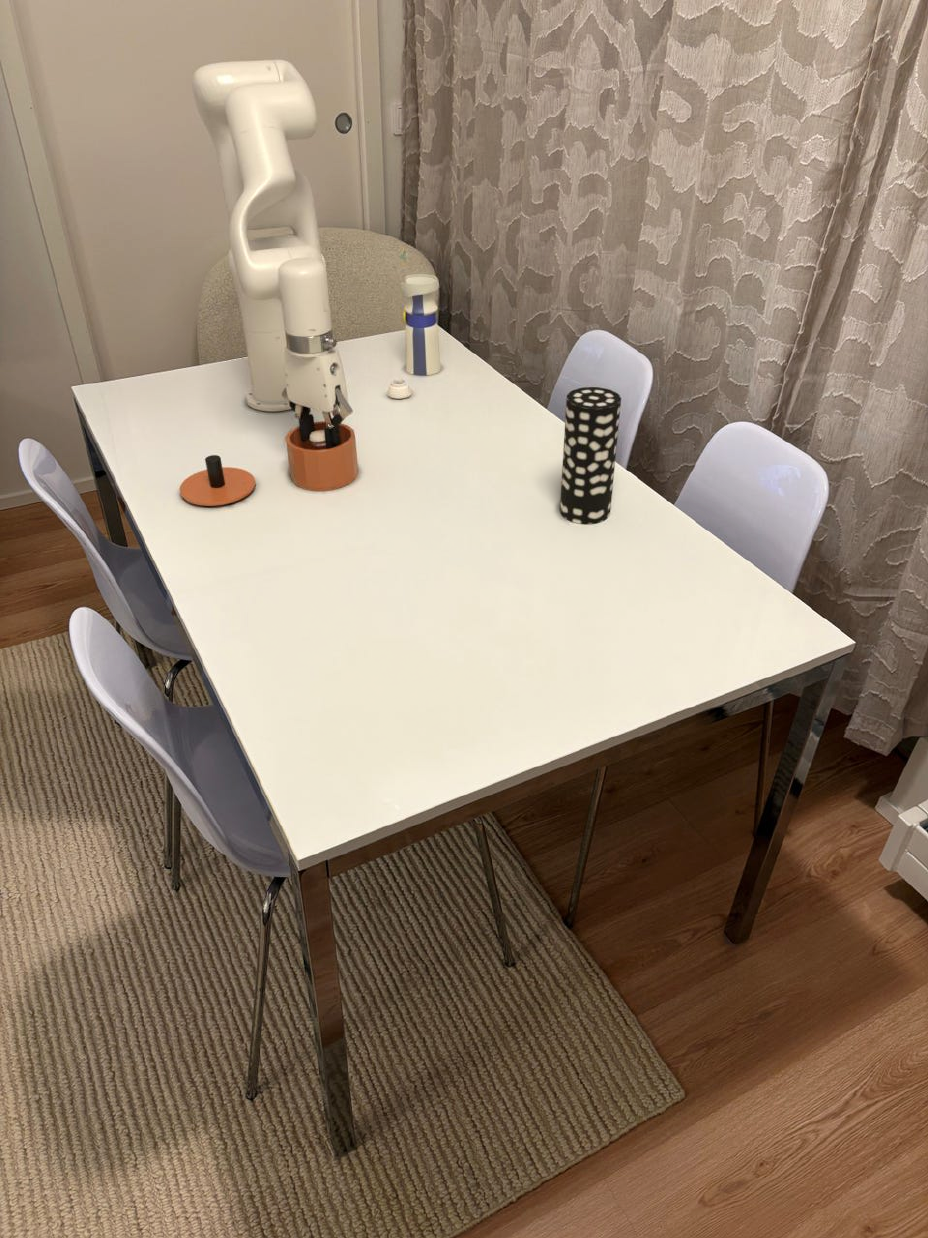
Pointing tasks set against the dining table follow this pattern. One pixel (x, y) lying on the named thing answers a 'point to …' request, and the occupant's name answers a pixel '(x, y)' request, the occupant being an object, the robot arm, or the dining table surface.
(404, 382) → the white jar
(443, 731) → the dining table surface
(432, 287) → the water bottle
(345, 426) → the orange hollow cylinder
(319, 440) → the macaroon
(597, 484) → the white-spotted black cylinder
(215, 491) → the lid
